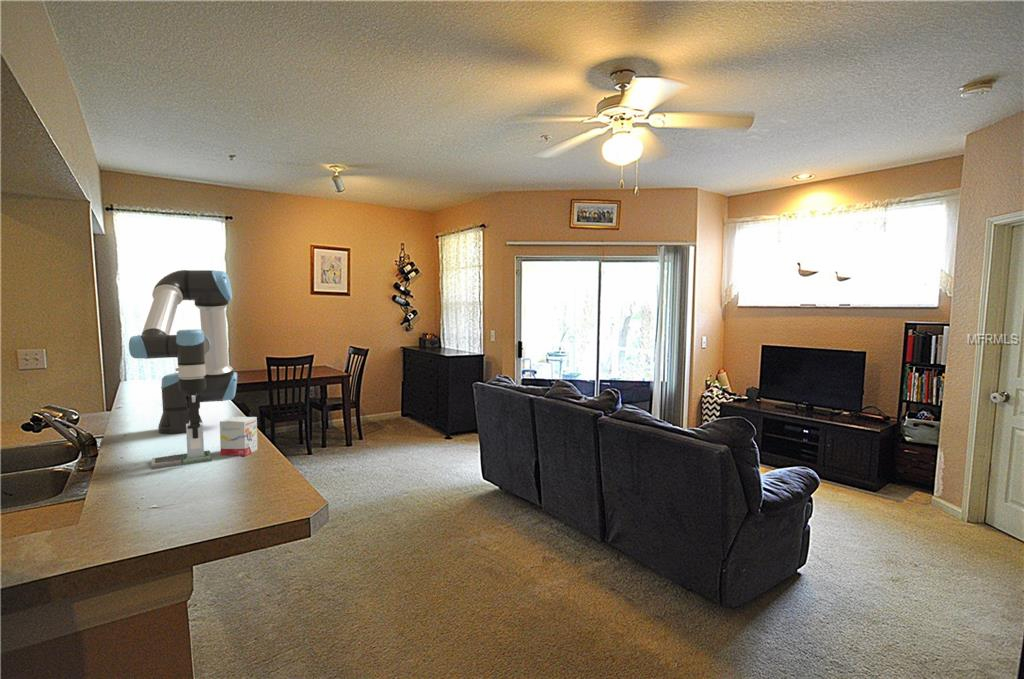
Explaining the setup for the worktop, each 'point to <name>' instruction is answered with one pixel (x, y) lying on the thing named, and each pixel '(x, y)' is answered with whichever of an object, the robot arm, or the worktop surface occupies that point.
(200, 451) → the plug
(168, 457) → the panel
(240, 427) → the ink box
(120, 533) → the worktop surface
